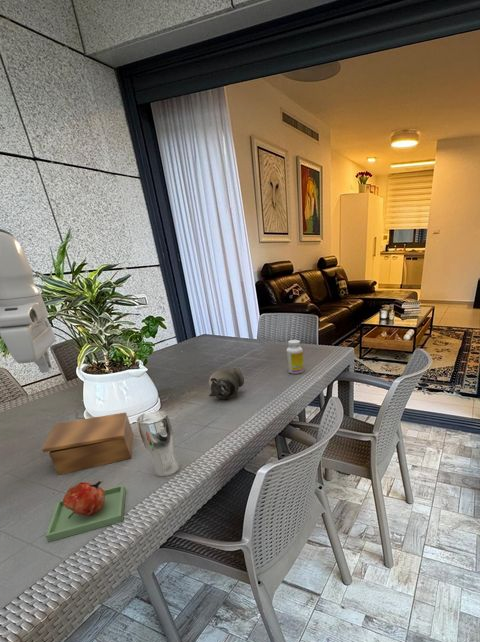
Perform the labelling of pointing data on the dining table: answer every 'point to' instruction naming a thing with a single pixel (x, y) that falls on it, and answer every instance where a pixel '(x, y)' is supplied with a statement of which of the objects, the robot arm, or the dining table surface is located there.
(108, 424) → the box lid
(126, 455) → the warming box
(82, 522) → the tray
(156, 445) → the beer glass
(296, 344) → the supplement bottle
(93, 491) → the pomegranate
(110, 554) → the dining table surface
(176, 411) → the dining table surface
